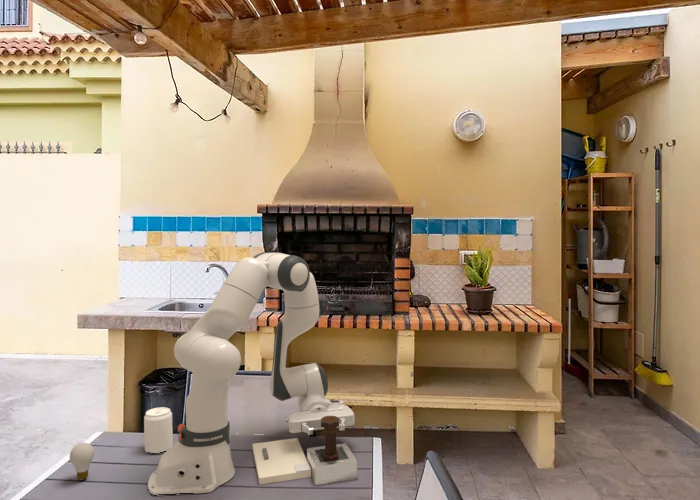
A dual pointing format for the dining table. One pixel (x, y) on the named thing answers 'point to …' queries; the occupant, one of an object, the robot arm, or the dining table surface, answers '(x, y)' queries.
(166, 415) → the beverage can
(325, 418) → the bolt
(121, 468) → the dining table surface
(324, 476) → the hollow square frame
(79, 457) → the light bulb
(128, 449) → the dining table surface
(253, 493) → the dining table surface
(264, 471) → the cabinet door
